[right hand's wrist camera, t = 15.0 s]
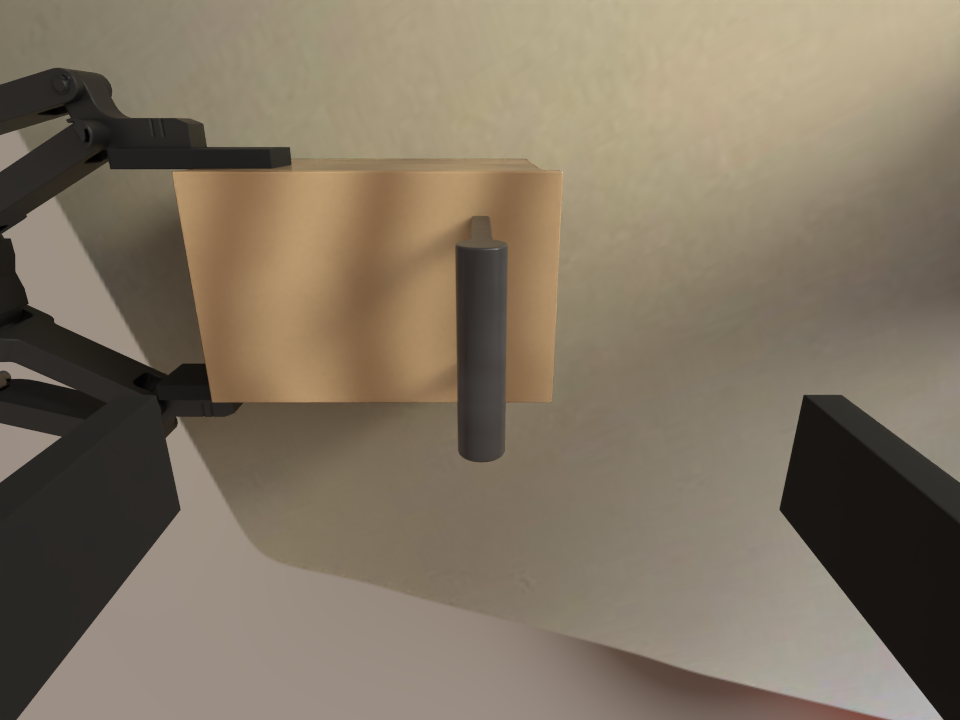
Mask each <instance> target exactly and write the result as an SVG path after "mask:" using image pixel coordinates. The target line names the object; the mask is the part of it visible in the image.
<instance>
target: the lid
mask: <svg viewBox="0 0 960 720" xmlns="http://www.w3.org/2000/svg"><path fill="white" fill-rule="evenodd" d="M172 176H173V182H174V188H175V193H176V199H177V205H178V210H179V216H180V222H181V227H182V233H183V239H184V244H185V250H186V256H187V262H188V267H189V273H190V279H191V284H192V290H193V296H194V301H195V307H196V313H197V318H198V324H199V330H200V336H201V341H202V347H203V353H204V358H205V364H206V370H207V375H208V381H209V387H210V392H211V398H212V402H457V406H458V452H459V454H460V455H461V456H462V457H463V458H465V459H467V460H470V461H474V462H489V461H493V460H496V459H498V458H500V457H501V456H502V455H503V453H504V451H505V402H552V392H553V371H554V349H555V328H556V307H557V286H558V265H559V244H560V222H561V201H562V180H563V172H561V171H559V170H182V171H175V172H172Z"/></svg>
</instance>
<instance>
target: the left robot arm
mask: <svg viewBox="0 0 960 720" xmlns="http://www.w3.org/2000/svg"><path fill="white" fill-rule="evenodd" d="M111 96H112V88H111V84H110V83H109V81H108V80H107V79H106V78H105V77H104V76H103V75H100V74H98V73H92V72H85V71H78V70H71V69H63V68H53V69H50V70H46V71H43V72H40V73H37V74H33V75H30V76H27V77H24V78H21V79H17V80H14V81H11V82H8V83H4V84H1V85H0V135H2V134H5V133H8V132H12V131H15V130H18V129H22V128H25V127H28V126H31V125H35V124H38V123H41V122H45V121H48V120H51V119H55V118H58V117H61V116H65V115H68V114H69V115H70V117H71V118H70V119H67V120H66V121H67V122H68V123H73V124H72V125H70V126H69V127H67V128H66V129H64V130H63V131H61V132H60V133H58V134H57V135H55V136H54V137H52V138H51V139H49V140H48V141H46V142H45V143H43V144H42V145H40V146H39V147H37V148H36V149H34V150H33V151H31V152H30V153H28V154H27V155H25V156H24V157H22V158H21V159H19V160H18V161H16V162H15V163H13V164H12V165H10V166H9V167H7V168H6V169H4V170H3V171H1V172H0V362H14V363H17V364H19V365H22V366H24V367H26V368H28V369H31V370H33V371H35V372H38V373H40V374H42V375H44V376H47V377H49V378H51V379H53V380H56V381H58V382H60V383H63V384H65V385H67V386H69V387H72V388H74V389H76V390H74V389H70V388H66V387H61V386H57V385H52V384H48V383H43V382H39V381H34V380H27V379H11V376H10V374H9V373H8V372H6V371H0V423H3V424H7V425H12V426H16V427H21V428H25V429H30V430H35V431H39V432H44V433H48V434H52V435H57V436H61V437H63V436H64V435H65V434H67V433H68V432H69V431H71V430H72V429H73V428H75V427H76V426H77V425H79V424H80V423H81V422H83V421H84V420H85V419H87V418H88V417H89V416H91V415H92V414H94V413H95V412H96V411H98V410H99V409H100V408H102V407H103V406H104V405H106V404H107V403H108V402H110V401H111V400H112V399H114V398H115V397H116V396H118V395H156V396H157V401H158V405H159V410H160V415H161V420H162V424H163V429H164V434H165V438H166V437H167V436H168V435H169V434H170V433H171V432H172V431H173V430H174V429H175V428H176V427H177V424H178V421H177V418H176V416H189V417H203V416H205V417H212V416H214V417H225V416H227V415H230V414H233V413H235V412H236V410H237V409H238V408H239V407H240V406H241V405H242V403H243V402H212V398H211V392H210V387H209V381H208V375H207V370H206V364H182V365H180V366H179V367H178V368H177V369H175V370H174V371H173V372H172V373H170V374H169V375H166V374H164V373H162V372H160V371H157V370H155V369H153V368H151V367H149V366H147V365H144V364H142V363H140V362H138V361H136V360H133V359H131V358H129V357H127V356H124V355H122V354H120V353H118V352H116V351H114V350H111V349H109V348H107V347H105V346H103V345H100V344H98V343H96V342H94V341H92V340H90V339H87V338H85V337H83V336H81V335H79V334H76V333H74V332H72V331H70V330H68V329H65V328H63V327H61V326H59V325H57V324H55V323H54V318H53V317H52V316H50V315H48V314H46V313H44V312H42V311H39V310H37V309H35V308H33V307H31V306H28V305H27V304H28V300H27V296H26V292H25V289H24V287H23V285H22V283H21V281H20V280H19V278H18V276H17V274H16V272H15V253H14V249H13V245H12V242H11V239H4V237H3V236H2V233H3V232H5V231H7V230H8V229H10V228H11V227H13V226H14V225H16V224H17V223H19V222H20V221H22V220H23V219H25V218H26V217H27V216H26V214H28V213H29V212H31V211H32V210H34V209H35V208H37V207H38V206H40V205H41V204H43V203H44V202H46V201H48V200H49V199H51V198H52V197H54V196H55V195H57V194H58V193H60V192H62V191H63V190H65V189H66V188H68V187H69V186H71V185H72V184H74V183H76V182H77V181H79V180H80V179H82V178H83V177H85V176H86V175H88V174H89V173H91V172H93V171H94V170H96V169H97V168H99V167H100V166H102V165H103V164H105V163H106V162H108V161H109V164H110V169H273V168H278V167H283V166H288V165H291V155H290V147H207V145H206V139H205V132H204V126H203V124H202V123H200V122H197V121H195V120H192V119H182V118H129V117H127V116H125V115H124V114H122V113H121V112H120V111H119V110H118V109H117V107H116V106H115V104H114V102H113V100H112V98H111Z"/></svg>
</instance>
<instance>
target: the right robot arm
mask: <svg viewBox="0 0 960 720" xmlns="http://www.w3.org/2000/svg"><path fill="white" fill-rule="evenodd" d="M779 510H780V511H781V512H782V514H783V515H784V516H785V517H786V519H787V520H788V521H789V523H790V524H791V525H792V526H793V528H794V529H795V530H796V532H797V533H798V534H799V535H800V537H801V538H802V539H803V540H804V542H805V543H806V544H807V546H808V547H809V548H810V549H811V551H812V552H813V553H814V555H815V556H816V557H817V558H818V560H819V561H820V562H821V563H822V565H823V566H824V567H825V569H826V570H827V571H828V572H829V574H830V575H831V576H832V578H833V579H834V580H835V581H836V583H837V584H838V585H839V587H840V588H841V589H842V590H843V592H844V593H845V594H846V595H847V597H848V598H849V599H850V601H851V602H852V603H853V604H854V606H855V607H856V608H857V610H858V611H859V612H860V613H861V615H862V616H863V617H864V619H865V620H866V621H867V622H868V624H869V625H870V626H871V627H872V629H873V630H874V631H875V633H876V634H877V635H878V636H879V638H880V639H881V640H882V642H883V643H884V644H885V645H886V647H887V648H888V649H889V650H890V652H891V653H892V654H893V656H894V657H895V658H896V659H897V661H898V662H899V663H900V665H901V666H902V667H903V668H904V670H905V671H906V672H907V674H908V675H909V676H910V677H911V679H912V680H913V681H914V682H915V684H916V685H917V686H918V688H919V689H920V690H921V691H922V693H923V694H924V695H925V697H926V698H927V699H928V700H929V702H930V703H931V704H932V705H933V707H934V708H935V709H936V711H937V712H938V713H939V714H940V716H941V717H942V718H943V720H960V483H959V482H958V481H957V480H955V479H954V478H953V477H951V476H950V475H949V474H947V473H946V472H945V471H943V470H942V469H941V468H939V467H938V466H937V465H935V464H934V463H932V462H931V461H930V460H928V459H927V458H926V457H924V456H923V455H922V454H920V453H919V452H918V451H916V450H915V449H914V448H912V447H911V446H910V445H908V444H907V443H906V442H904V441H903V440H901V439H900V438H899V437H897V436H896V435H895V434H893V433H892V432H891V431H889V430H888V429H887V428H885V427H884V426H883V425H881V424H880V423H879V422H877V421H876V420H875V419H873V418H872V417H871V416H869V415H868V414H866V413H865V412H864V411H862V410H861V409H860V408H858V407H857V406H856V405H854V404H853V403H852V402H850V401H849V400H848V399H846V398H845V397H844V396H842V395H804V396H803V401H802V405H801V410H800V415H799V420H798V424H797V429H796V434H795V439H794V443H793V448H792V453H791V457H790V462H789V467H788V472H787V476H786V481H785V486H784V491H783V495H782V500H781V505H780V509H779ZM179 511H180V505H179V500H178V495H177V491H176V486H175V481H174V476H173V472H172V467H171V462H170V457H169V453H168V448H167V443H166V439H165V434H164V429H163V424H162V420H161V415H160V410H159V405H158V401H157V396H156V395H118V396H116V397H115V398H114V399H112V400H111V401H110V402H108V403H107V404H106V405H104V406H103V407H102V408H100V409H99V410H98V411H96V412H95V413H94V414H92V415H91V416H89V417H88V418H87V419H85V420H84V421H83V422H81V423H80V424H79V425H77V426H76V427H75V428H73V429H72V430H71V431H69V432H68V433H67V434H65V435H64V436H63V437H61V438H60V439H59V440H57V441H56V442H55V443H53V444H52V445H50V446H49V447H48V448H46V449H45V450H44V451H42V452H41V453H40V454H38V455H37V456H36V457H34V458H33V459H32V460H30V461H29V462H28V463H26V464H25V465H24V466H22V467H21V468H19V469H18V470H17V471H15V472H14V473H13V474H11V475H10V476H9V477H7V478H6V479H5V480H3V481H2V482H1V483H0V720H16V719H17V718H18V717H19V716H20V714H21V713H22V712H23V711H24V709H25V708H26V707H27V705H28V704H29V703H30V702H31V700H32V699H33V698H34V696H35V695H36V694H37V693H38V691H39V690H40V689H41V688H42V686H43V685H44V684H45V682H46V681H47V680H48V679H49V677H50V676H51V675H52V674H53V672H54V671H55V670H56V668H57V667H58V666H59V665H60V663H61V662H62V661H63V659H64V658H65V657H66V656H67V654H68V653H69V652H70V650H71V649H72V648H73V647H74V645H75V644H76V643H77V642H78V640H79V639H80V638H81V636H82V635H83V634H84V633H85V631H86V630H87V629H88V627H89V626H90V625H91V624H92V622H93V621H94V620H95V618H96V617H97V616H98V615H99V613H100V612H101V611H102V610H103V608H104V607H105V606H106V604H107V603H108V602H109V600H110V599H111V598H112V597H113V595H114V594H115V593H116V592H117V590H118V589H119V588H120V587H121V585H122V584H123V583H124V581H125V580H126V579H127V578H128V576H129V575H130V574H131V572H132V571H133V570H134V569H135V567H136V566H137V565H138V563H139V562H140V561H141V560H142V558H143V557H144V556H145V555H146V553H147V552H148V551H149V549H150V548H151V547H152V546H153V544H154V543H155V542H156V540H157V539H158V538H159V537H160V535H161V534H162V533H163V531H164V530H165V529H166V528H167V526H168V525H169V524H170V523H171V521H172V520H173V519H174V517H175V516H176V515H177V514H178V512H179Z"/></svg>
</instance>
